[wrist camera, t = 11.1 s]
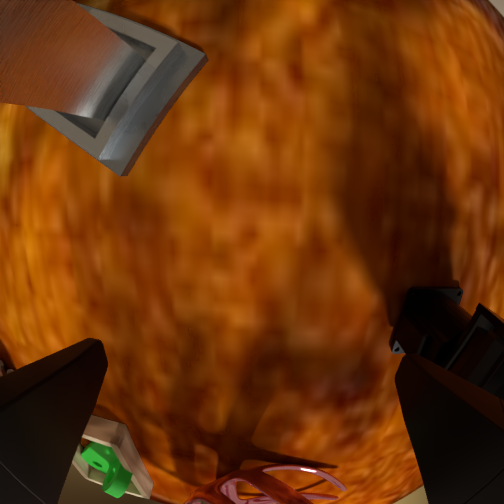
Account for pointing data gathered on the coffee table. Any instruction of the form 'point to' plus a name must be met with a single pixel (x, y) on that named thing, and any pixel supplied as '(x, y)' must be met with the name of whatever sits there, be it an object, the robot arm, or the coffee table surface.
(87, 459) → the mechanical part
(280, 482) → the spiral basket
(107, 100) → the post
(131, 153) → the housing
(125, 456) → the parts corral
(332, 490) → the coffee table surface
